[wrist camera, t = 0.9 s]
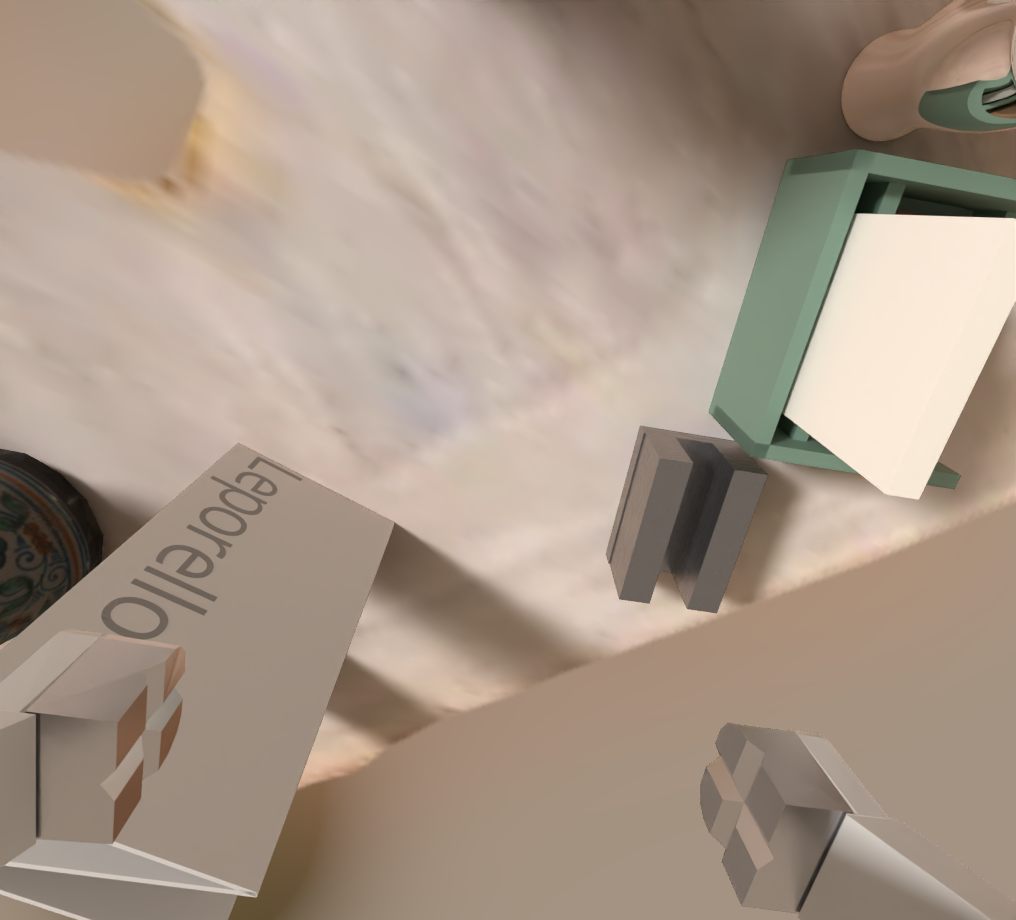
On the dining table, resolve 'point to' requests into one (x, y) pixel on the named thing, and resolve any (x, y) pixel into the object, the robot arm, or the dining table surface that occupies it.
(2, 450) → the beer stein
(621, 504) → the stand
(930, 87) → the beer glass
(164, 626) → the brochure
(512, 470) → the dining table surface
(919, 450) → the cream rectangular slab
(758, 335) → the offcut rack
